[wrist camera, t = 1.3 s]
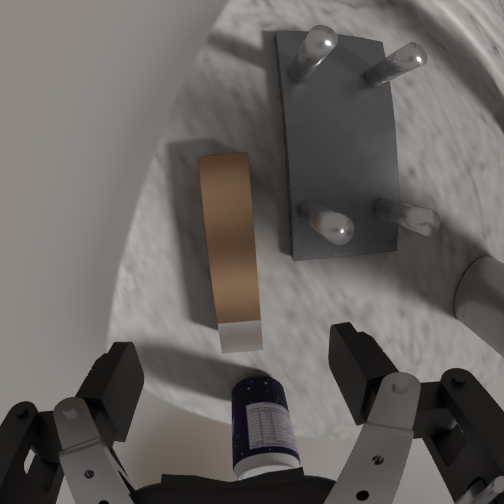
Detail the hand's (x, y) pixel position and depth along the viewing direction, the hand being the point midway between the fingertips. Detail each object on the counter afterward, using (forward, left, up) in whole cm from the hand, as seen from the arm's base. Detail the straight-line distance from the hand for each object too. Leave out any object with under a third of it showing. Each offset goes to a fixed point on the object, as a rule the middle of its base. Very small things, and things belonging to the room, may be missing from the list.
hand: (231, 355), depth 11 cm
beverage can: (-1, +16, -15) cm, 22 cm away
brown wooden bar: (0, 0, -15) cm, 15 cm away
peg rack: (-10, -9, -15) cm, 20 cm away
